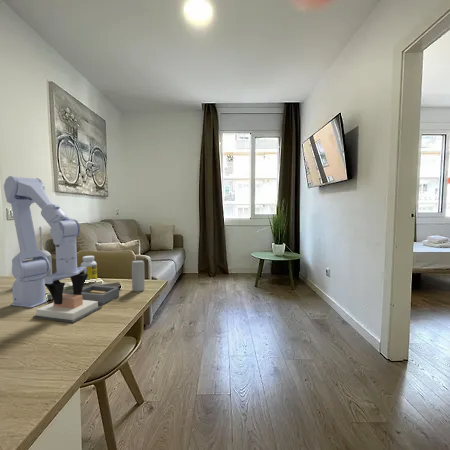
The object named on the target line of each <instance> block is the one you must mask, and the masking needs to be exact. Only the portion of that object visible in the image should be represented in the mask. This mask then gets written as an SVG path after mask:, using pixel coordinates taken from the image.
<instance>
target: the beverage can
mask: <svg viewBox="0 0 450 450" xmlns="http://www.w3.org/2000/svg"><path fill="white" fill-rule="evenodd" d="M145 283H146V281H145V260H142V259H140V260H139V259H138V260H137V259H136V260H133V261H131V287H132V288H131V290H132V291H133V292H134V293H141V292H143V291H144V290H145V288H146V287H145Z"/></svg>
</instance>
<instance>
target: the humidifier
mask: <svg viewBox="0 0 450 450" xmlns="http://www.w3.org/2000/svg"><path fill="white" fill-rule="evenodd" d="M38 230H39V237H40V239H39V246H40V247H39V250H40V251H42V252H44V253H46V256H47V259H48V261H49V262H50V271H49V273H48V274H47V276H49V275H52V274H53V263H52V254H51V253H50V252H49V251H48V250H46V249H47V248H45V249H44V246H43V239H44V238H43V232H42V226H39V228H38ZM32 259H36V258H32ZM47 276H46V277H47Z"/></svg>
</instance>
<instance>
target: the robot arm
mask: <svg viewBox="0 0 450 450" xmlns="http://www.w3.org/2000/svg"><path fill="white" fill-rule="evenodd" d="M3 190H4V195H5V199H6V202H7V203H8V204H10V206H11V210H12V216H13V221H14V227H15V231H16V236H17V242H18V247H19V253H17V254H16V255H15V256H14V257H13V258H12V259H11V265H12V266H11V273H12V276H13V278H14V279H15V281H14V282H13V283H12V292H11V293H12V303H10V306H13V307H22V308H23V307H24V308H35V307H37V306H40V305H42V304H45V303H47V301H46V298H47V297H46V289H47V290H48V291H49V294H50V295H51V297H52V301H53V300H54V303H55V304H58V305H60V304H62V299H63V292H64V288H65V284H66V283H65V282H61V280H65V279H67V278H70V280H71V284H72V294H74V295H81V293H82V289H84V285H85V284H84V282H85V280H86V279H87V277H88V274H84V273H86V272H87V267H83V266H82V267H81V266H78V253H77V251H78V250H77V237H78V236H80V233H81V225H80V224H79V222H78V220H77V219H74V218H70V217H69V216H68V215H67V214H66V212H64V210H63V209H62V208H61V206H60V205H59V204H56V203H53V202H52V201H51V199H50V197H49V196H48V195H47V193H46V191H45V183H44V182H43V181H42V179H40V178H38V177H37V178H33V177H32V178H30V177H22V176H21V177H18V176H12V175H10V176H7V177H6V178H5V180H4V184H3ZM33 204H36V205H37V207H39V208H40V209H41V211H40V215H41V216H42V218H43V220H45V221H46V223H47V224H48V225H49V227H50V230H49V231H50V235H51V237H52V243H53V245H55V263H56V264H55V267H56V272H54V273H52V275H49V276H47V274H48V273H49V271H50V262H49V261H48V259H47V256H46V253H44V252H42V251H40V249H38V243H37V237H36V233H35V228H34V223H33V216H32V211H31V208H30V207H31V206H32V205H33ZM33 258H36V259H33ZM46 276H47V277H46Z"/></svg>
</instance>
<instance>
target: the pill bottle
mask: <svg viewBox="0 0 450 450" xmlns="http://www.w3.org/2000/svg"><path fill="white" fill-rule="evenodd" d="M82 266H83V267H87V272H86V273H84V274H88V277H87V279H86V280H90V279H97V280H98V267H97V266H98V263H97V261H95V255H85V256H82V262H81V263H80V267H82Z"/></svg>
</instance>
